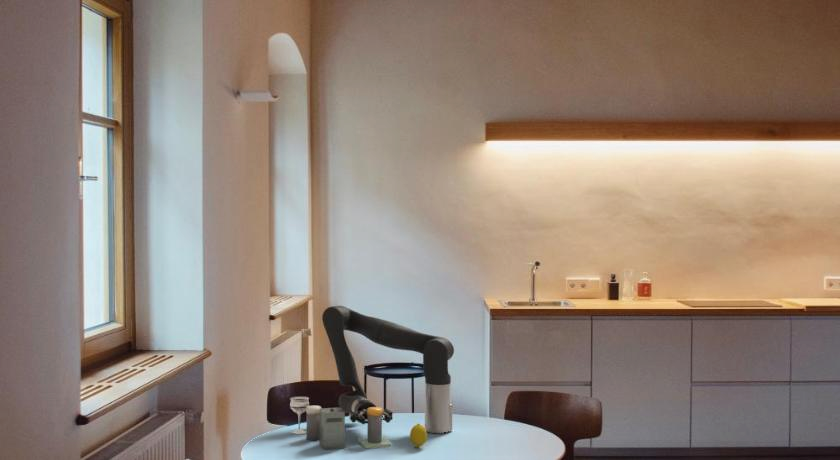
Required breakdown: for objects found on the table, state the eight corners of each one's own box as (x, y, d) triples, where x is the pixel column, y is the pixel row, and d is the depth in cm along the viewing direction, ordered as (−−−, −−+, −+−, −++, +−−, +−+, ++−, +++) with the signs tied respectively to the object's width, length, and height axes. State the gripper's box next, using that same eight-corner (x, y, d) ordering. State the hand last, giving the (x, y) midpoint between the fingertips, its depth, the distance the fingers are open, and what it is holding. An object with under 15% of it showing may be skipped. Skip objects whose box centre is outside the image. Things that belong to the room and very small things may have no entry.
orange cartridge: (379, 438, 267) (380, 406, 267) (383, 442, 262) (384, 409, 262) (365, 440, 265) (365, 407, 265) (369, 443, 260) (369, 410, 260)
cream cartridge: (319, 436, 272) (319, 405, 272) (322, 440, 267) (322, 408, 267) (304, 437, 270) (305, 406, 271) (307, 441, 266) (307, 409, 266)
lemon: (424, 450, 256) (425, 426, 256) (408, 449, 257) (408, 425, 257) (428, 446, 261) (428, 422, 261) (411, 445, 262) (412, 421, 262)
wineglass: (312, 432, 279) (313, 398, 279) (297, 435, 274) (298, 401, 274) (300, 428, 283) (300, 395, 283) (285, 432, 278) (286, 398, 278)
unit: (339, 442, 265) (339, 405, 265) (344, 448, 257) (345, 410, 257) (319, 444, 262) (319, 406, 262) (323, 450, 255) (324, 411, 255)
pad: (383, 439, 269) (383, 437, 269) (391, 446, 261) (391, 443, 261) (358, 441, 266) (358, 439, 266) (365, 448, 258) (365, 445, 258)
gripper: (344, 400, 275) (355, 410, 259) (383, 398, 279) (396, 407, 264) (344, 422, 275) (355, 433, 259) (383, 419, 279) (396, 430, 264)
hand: (376, 420), depth 262 cm, fingers open, 8 cm apart
